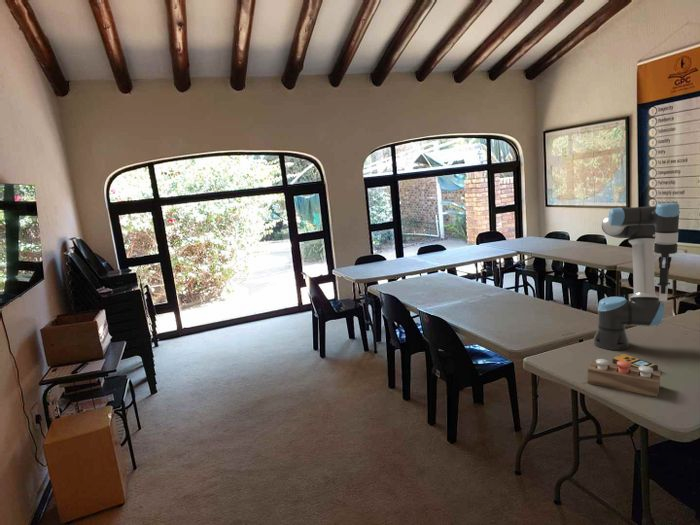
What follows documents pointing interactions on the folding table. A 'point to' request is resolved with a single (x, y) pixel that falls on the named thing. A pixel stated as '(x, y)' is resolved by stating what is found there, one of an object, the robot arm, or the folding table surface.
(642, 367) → the grey plug
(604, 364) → the grey plug
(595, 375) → the socket block
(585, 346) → the folding table surface
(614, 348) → the robot arm
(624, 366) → the red plug
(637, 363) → the electronic device
